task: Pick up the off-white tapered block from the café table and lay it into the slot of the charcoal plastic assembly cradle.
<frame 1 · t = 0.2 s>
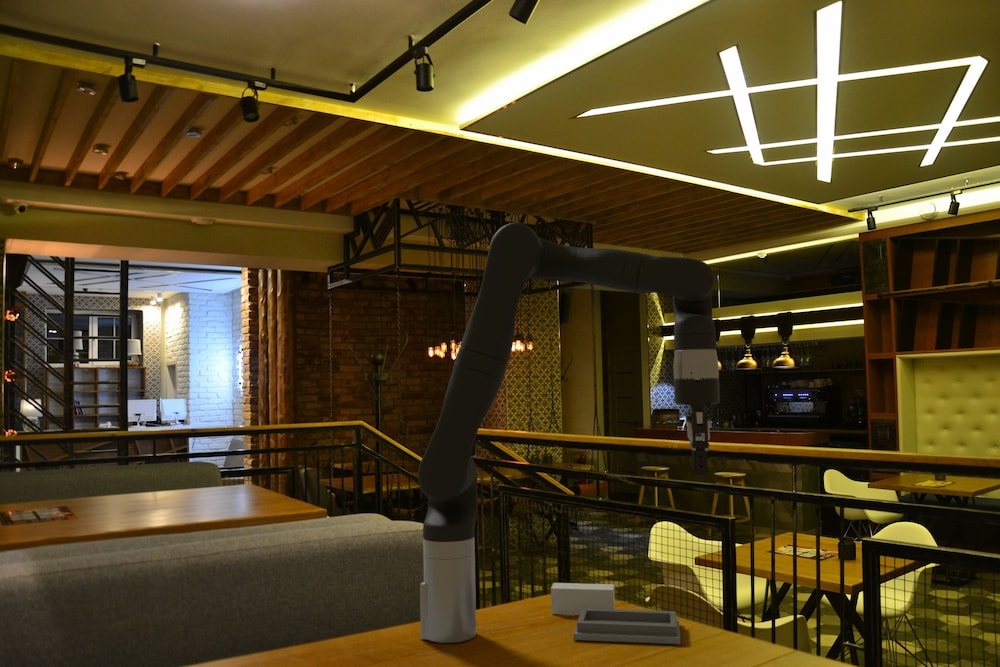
hand: (699, 471, 132), 29 cm above the table, fingers open, 8 cm apart
cradle: (627, 631, 137), on the table
off-white tapered block: (583, 612, 151), on the table
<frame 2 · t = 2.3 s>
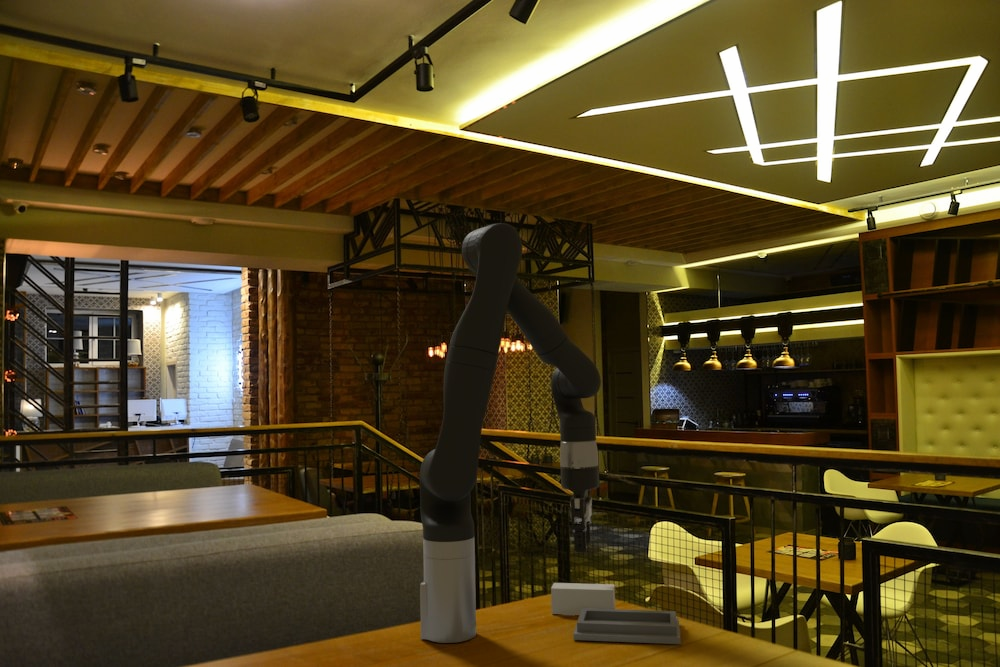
hand: (582, 547, 152), 12 cm above the table, fingers open, 8 cm apart
nothing on the table moved.
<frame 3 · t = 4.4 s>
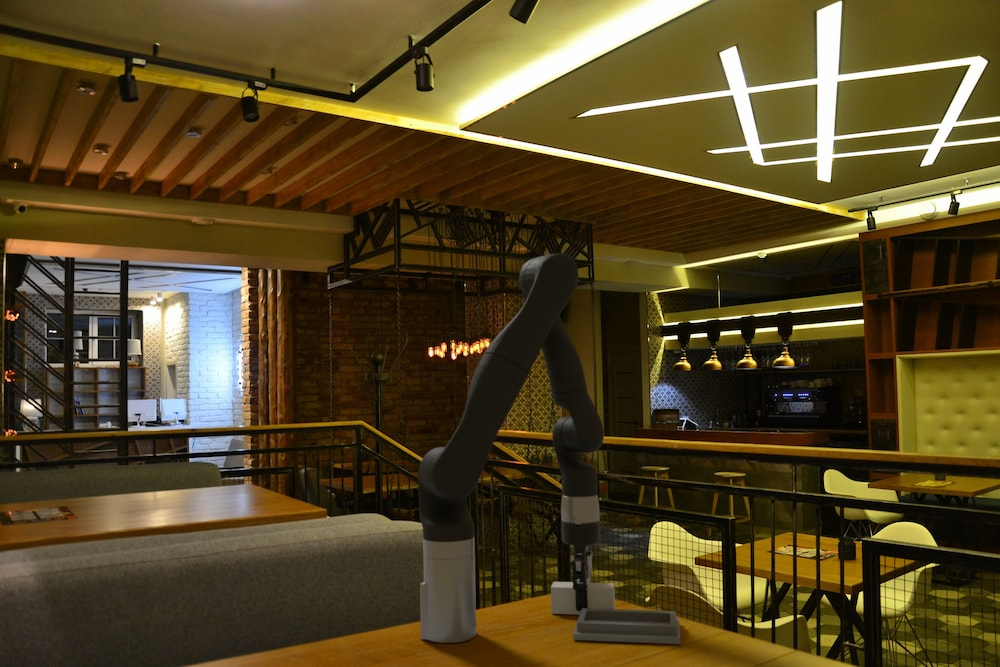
hand: (583, 606, 151), 1 cm above the table, fingers closed on off-white tapered block, 4 cm apart
off-white tapered block: (583, 611, 151), on the table, touching gripper
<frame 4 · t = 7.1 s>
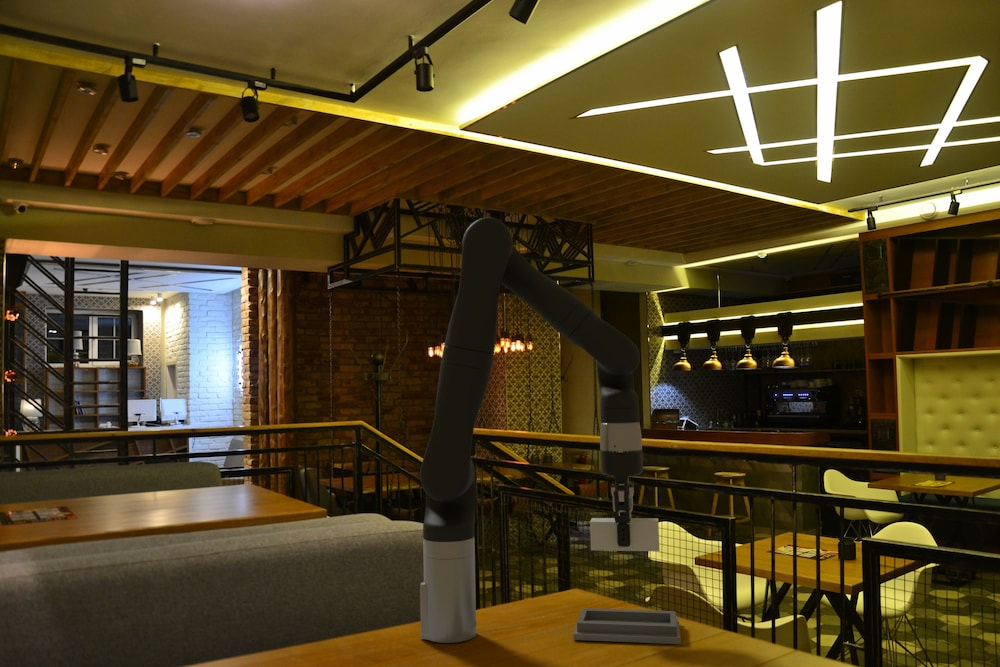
hand: (624, 543, 139), 15 cm above the table, fingers closed on off-white tapered block, 4 cm apart
off-white tapered block: (625, 548, 139), point 14 cm above the table, touching gripper
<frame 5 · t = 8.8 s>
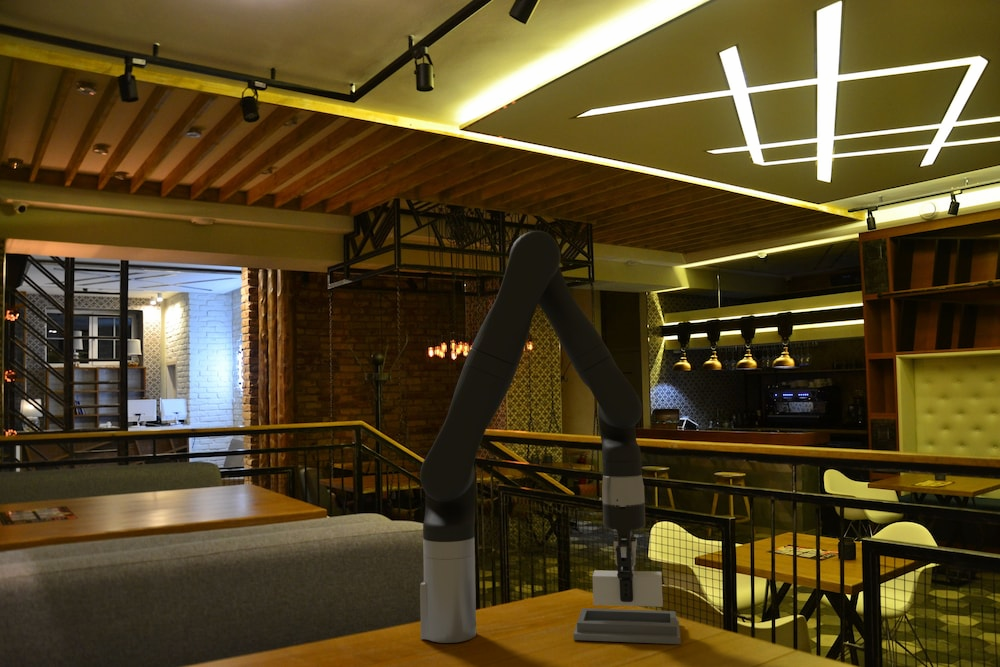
hand: (627, 597, 138), 6 cm above the table, fingers closed on off-white tapered block, 4 cm apart
off-white tapered block: (628, 602, 138), point 5 cm above the table, touching gripper
when the fingers open (4 cm above the table, at t = 10.1 s): off-white tapered block drops 2 cm, resting on cradle.
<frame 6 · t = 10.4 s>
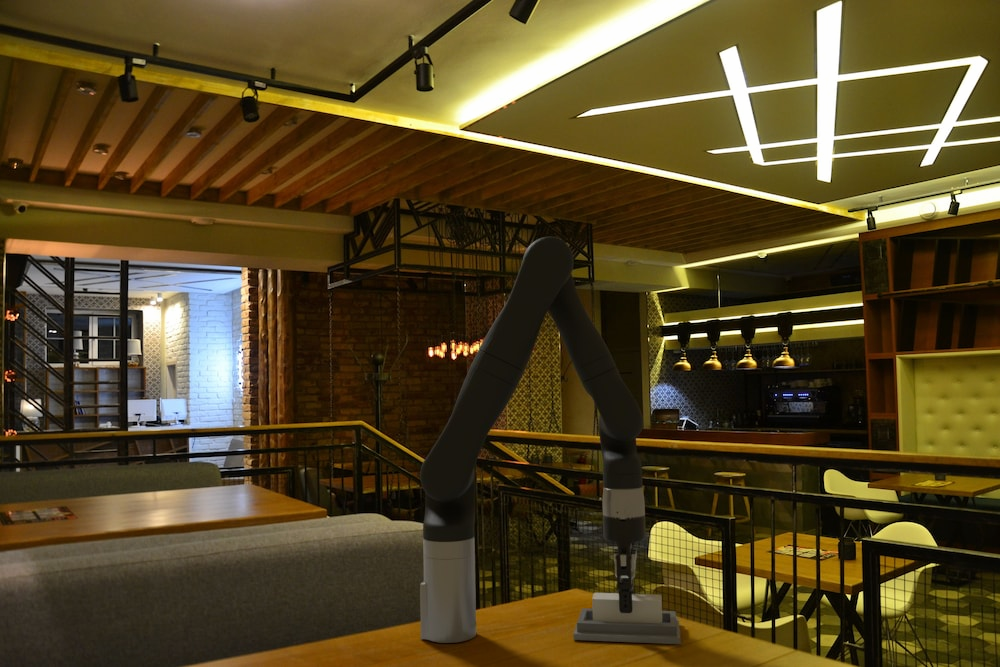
hand: (626, 606, 138), 4 cm above the table, fingers open, 7 cm apart
off-white tapered block: (628, 625, 137), point 1 cm above the table, touching cradle
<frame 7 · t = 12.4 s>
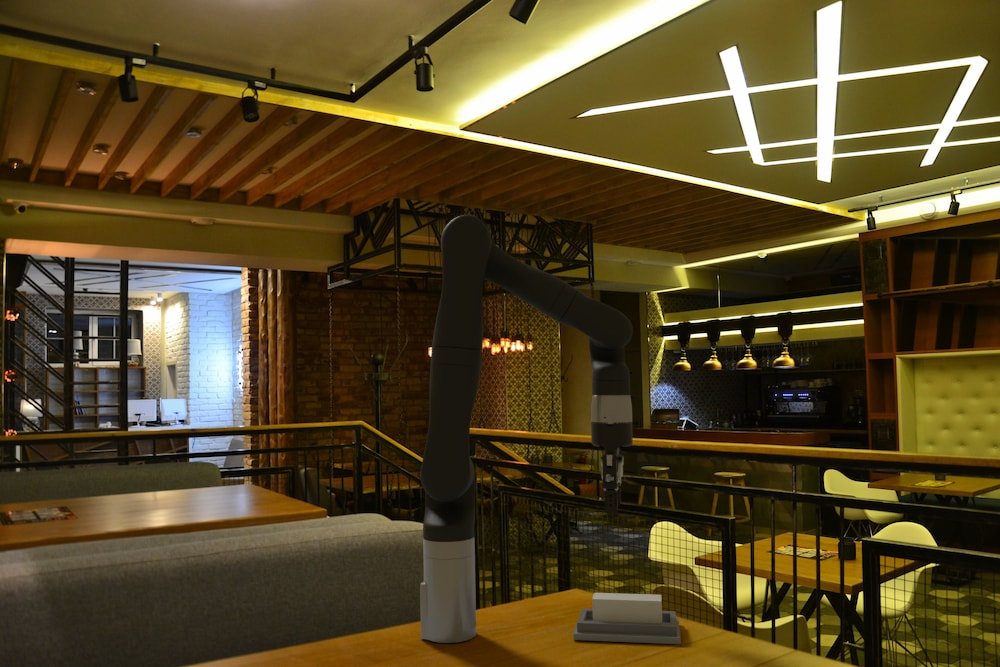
hand: (613, 509, 142), 21 cm above the table, fingers open, 8 cm apart
nothing on the table moved.
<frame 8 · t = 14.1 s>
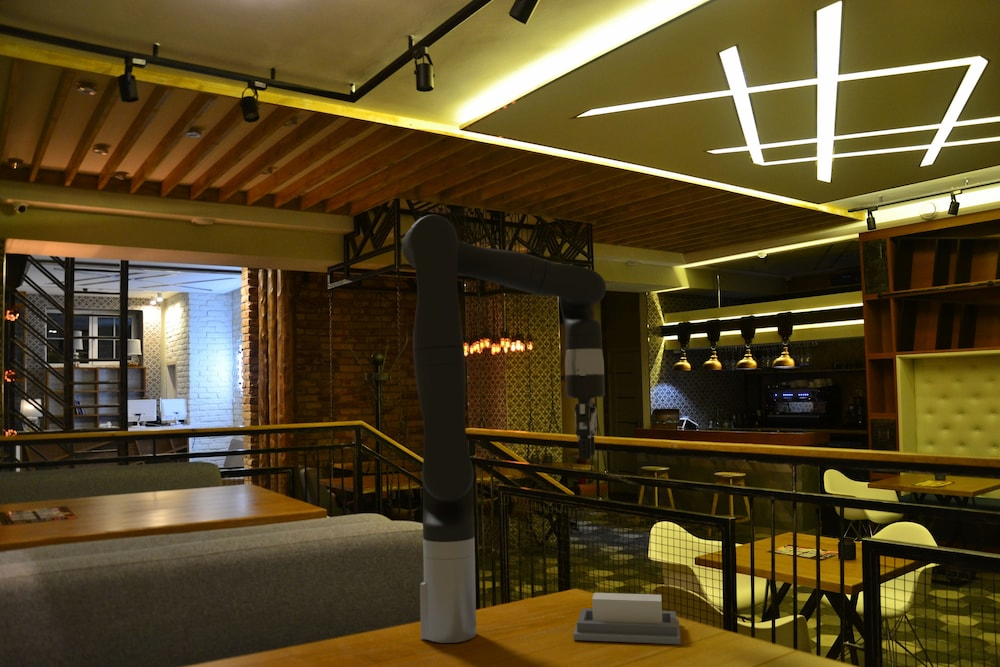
hand: (587, 457, 149), 30 cm above the table, fingers open, 8 cm apart
nothing on the table moved.
at the end: off-white tapered block 0.1 cm off-centre on the cradle, point 1.0 cm above the cradle's base; off-white tapered block tilted 0°; the gripper is holding nothing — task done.
